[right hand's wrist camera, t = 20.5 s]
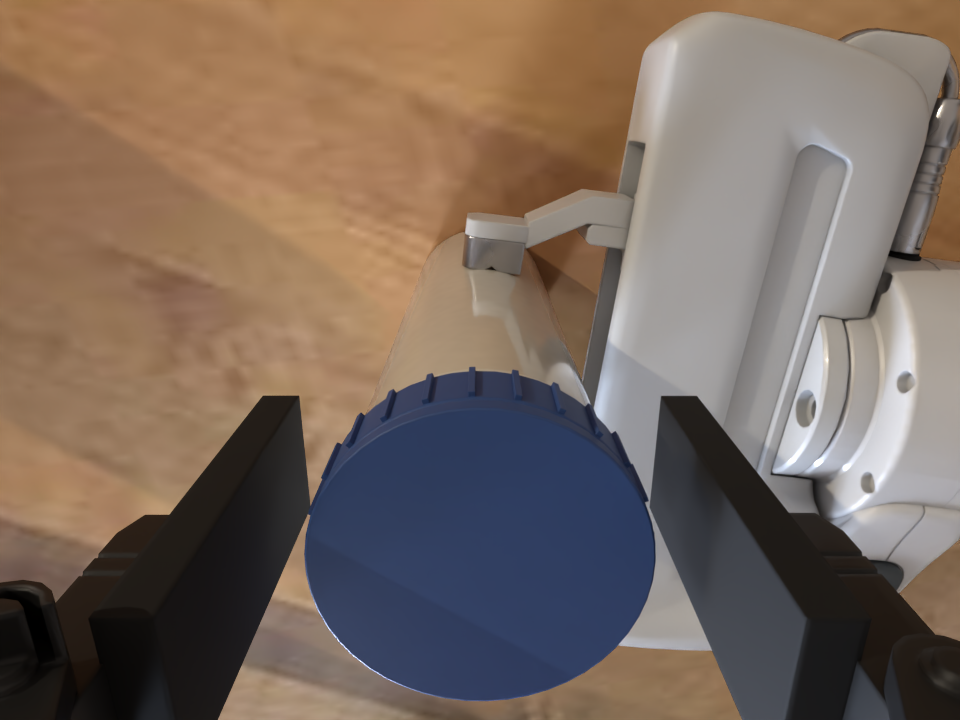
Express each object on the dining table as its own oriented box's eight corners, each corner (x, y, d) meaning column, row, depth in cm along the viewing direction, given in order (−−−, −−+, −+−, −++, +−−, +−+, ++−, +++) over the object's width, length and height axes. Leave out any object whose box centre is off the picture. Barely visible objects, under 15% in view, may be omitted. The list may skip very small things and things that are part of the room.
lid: (651, 615, 13) (673, 682, 11) (362, 655, 13) (347, 724, 12) (622, 340, 11) (645, 375, 9) (284, 394, 11) (254, 437, 10)
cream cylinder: (460, 204, 26) (428, 341, 10) (566, 272, 27) (693, 499, 11) (395, 309, 28) (277, 575, 12) (498, 370, 29) (521, 697, 12)
